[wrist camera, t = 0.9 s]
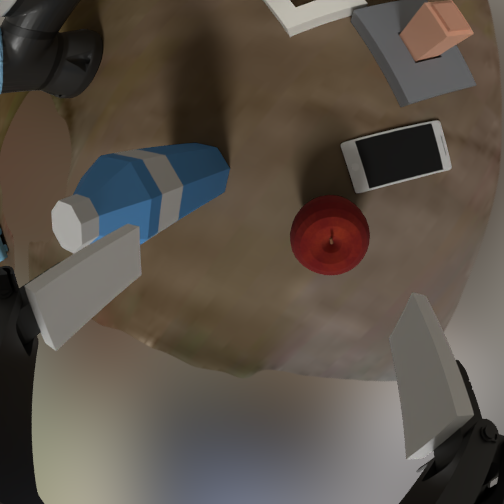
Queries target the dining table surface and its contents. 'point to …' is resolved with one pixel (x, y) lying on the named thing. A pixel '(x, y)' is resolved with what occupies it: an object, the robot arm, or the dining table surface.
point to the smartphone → (396, 155)
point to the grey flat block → (408, 54)
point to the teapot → (2, 249)
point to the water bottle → (139, 192)
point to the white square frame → (311, 13)
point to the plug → (434, 30)
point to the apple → (329, 235)
